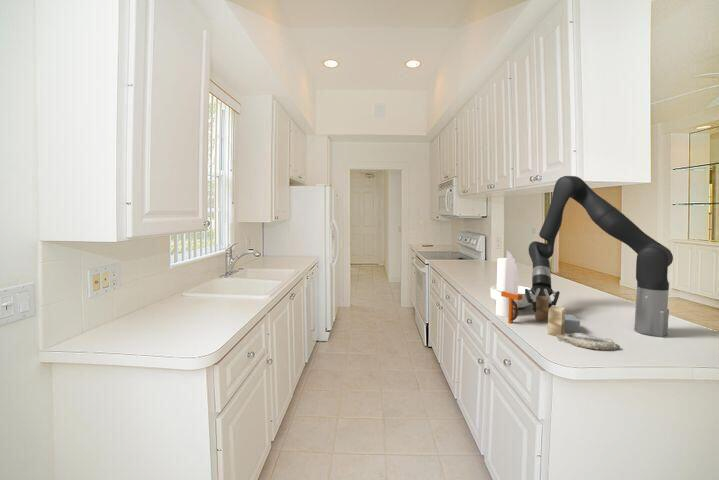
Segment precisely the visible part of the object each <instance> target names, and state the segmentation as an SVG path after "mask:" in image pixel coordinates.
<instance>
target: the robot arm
mask: <svg viewBox="0 0 719 480" xmlns="http://www.w3.org/2000/svg"><path fill="white" fill-rule="evenodd" d="M553 187H554V188H553V192H552V196H551V200H550V205H549V208H548V210H547V214H546V217H545V219H544V222H543V224H542V226H541V228H540V231H539V232H538V236H539V237H540V238H541V239H543V240H545V241H546V242H547V243H546V242H545V243H544V242H540V241H537V240H536V241H535V240H534V241H532V242H531V243H530V244H529V245H528V255H529V257H530V260H531V262H532V273H531V284H532V285H531V286H532V287H531V289H529V290H528V289H525V295H526V298H527V301H528V303H531V305H532V312H533V311H534V313H535V312H536V296H546V297H548V298H549V306H548V312H549V308H550V307H552V306H555V307H556V305H557V303H558V300H559V298H560V291H559V290H557V291H555V290H553V288H552V275H551V264H550V260H549V259H550V258H551V257H553V255H554V250H555V242H556V238H557V236H558V233H559V231H560V228H561V227H562V223H563V222H562V221H563V214H564V210H565V207H566V204H567V203H568V201H569V200H570V198H571V199H573V200H574V201H575V202H576V203H578V204H579V205H580V206H582V208H584V209H585V211H586V213H587V215H588V217H589V218H590V220H591V221H592V222H594V224H596V225H597V227H599V228H600V229H601V230H602V231H603V232H605V233H606V234H608V235H609V236H610V237H612V238H615V239H616V240H618V241H620V242H621V243H624V244H625V245H626V246H628V247H629V248H630V249H632V250H633V251H634V252H635V253H636V254H637V255H636V260H635V261H636V264H635V265H636V266H635V279H636V283H637V285H636V294H635V295H636V296H635V311H634V326H633V327H634V328H633V329H634V331H635V332H636V333H640V334H642V335H648V336H653V337H661V338H664V337H665V336H667V335H668V331H669V330H668V329H669V317H670V309H669V308H668V304H669V291H670V282H669V279H668V271H669V270H668V268H669V267H670V266H671V264H672V263H673V262H674V255H673V254H672V253H673V252H672V251H671V250H670V248H668V247H666V246H664V245H663V244H662V243H660V242H659V241H657V240H655V239H654V238H652V237H651V236H649V235H648V234H647V233H645V232H644V231H643V230H642V229H640V227H638V226H637V224H635V222H633V221H632V220H631V219H629V217H627V216H626V215H625V214H624V213H622V212H621V211H620V210H619V209H618V208H616V207H615V206H614V205H612V204H611V203H610V202H608V201H607V200H606V199H604V198H603V197H601V196H600V195H598V193H596V192H595V191H594V190H593V189H592V188H591V187H590V186H589V185H588V184H587V183H586V182H585V181H584V179H582V178H580V177H579V176H575V175H564V176H561V177H559V178H558V179H557V180H556V182H555V185H554V186H553ZM530 292H532V293H533V294H534V299H531V297H530ZM551 295H552V296H553V298H554V299H553V300H552V299H551Z"/></svg>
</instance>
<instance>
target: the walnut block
mask: <svg viewBox="0 0 719 480" xmlns="http://www.w3.org/2000/svg"><path fill="white" fill-rule="evenodd" d="M548 306H549V298H548V297H546V296H536V312H534V313H535V315H534V317H535V318H534V319H535V321H536V322H540V323H548Z"/></svg>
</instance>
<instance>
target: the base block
mask: <svg viewBox="0 0 719 480" xmlns="http://www.w3.org/2000/svg"><path fill="white" fill-rule="evenodd" d="M580 327H581V321H580V319H578V318H577V317H576V316H575V315H573V314H566V313H565V330H564V333H567V334H573V333H580Z"/></svg>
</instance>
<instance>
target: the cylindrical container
mask: <svg viewBox="0 0 719 480" xmlns="http://www.w3.org/2000/svg"><path fill="white" fill-rule="evenodd" d="M514 261H515V262H516V259H515V258H514ZM496 265H497V267H496V268H497V270H496V285H497V293H496V302H495V315H496V316H498V317H507V318H508V315H509V298H507V297H503V296H501V292H502V291H505V276H506V257H499V258H497V264H496Z"/></svg>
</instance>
